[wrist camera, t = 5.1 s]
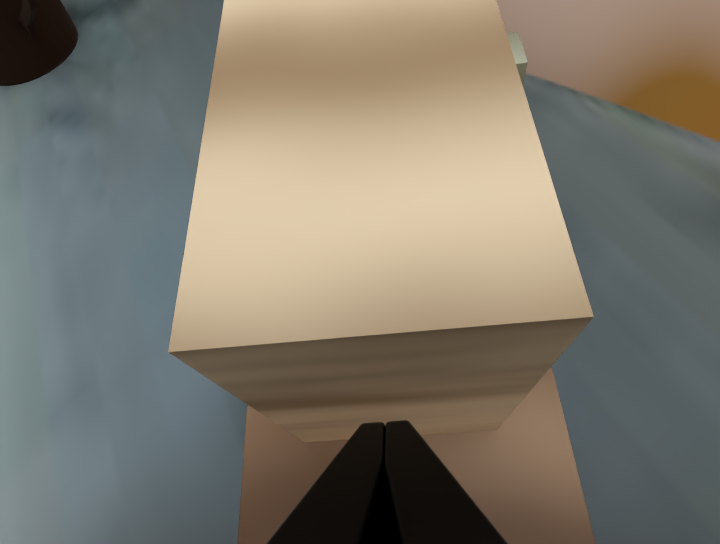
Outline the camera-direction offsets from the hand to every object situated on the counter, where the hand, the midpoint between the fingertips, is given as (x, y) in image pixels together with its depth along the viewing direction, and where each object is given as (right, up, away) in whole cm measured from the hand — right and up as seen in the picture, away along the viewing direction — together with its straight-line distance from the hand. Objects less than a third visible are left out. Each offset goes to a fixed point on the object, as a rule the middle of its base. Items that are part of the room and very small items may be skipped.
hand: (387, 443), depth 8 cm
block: (0, +2, +9) cm, 9 cm away
